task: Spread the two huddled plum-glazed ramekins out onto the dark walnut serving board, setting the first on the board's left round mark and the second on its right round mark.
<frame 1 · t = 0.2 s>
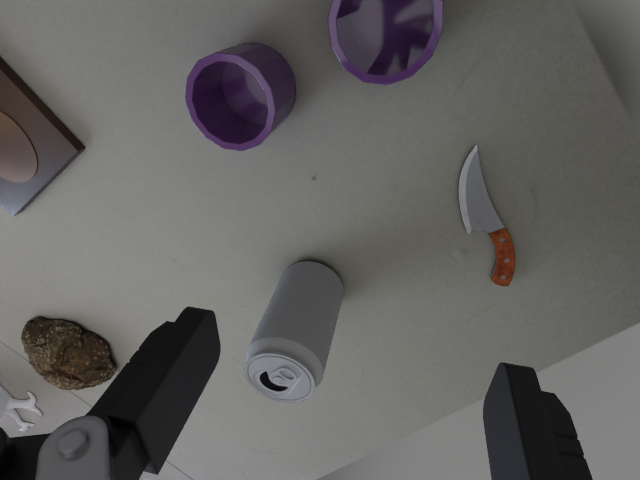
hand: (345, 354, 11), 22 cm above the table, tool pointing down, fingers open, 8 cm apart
ramekin 1: (257, 87, 30), on the table
bread roll: (78, 347, 56), on the table
ramekin 2: (390, 17, 26), on the table
beverage can: (314, 281, 40), on the table
knife: (483, 220, 32), on the table
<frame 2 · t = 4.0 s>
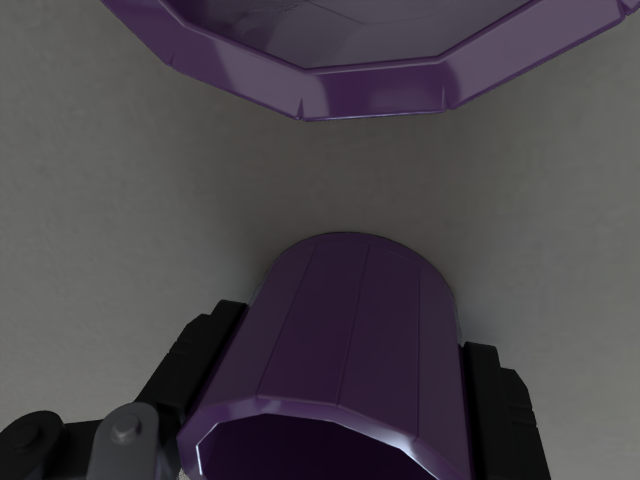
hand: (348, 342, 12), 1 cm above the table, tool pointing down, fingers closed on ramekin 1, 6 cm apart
ramekin 1: (354, 314, 12), on the table, touching gripper
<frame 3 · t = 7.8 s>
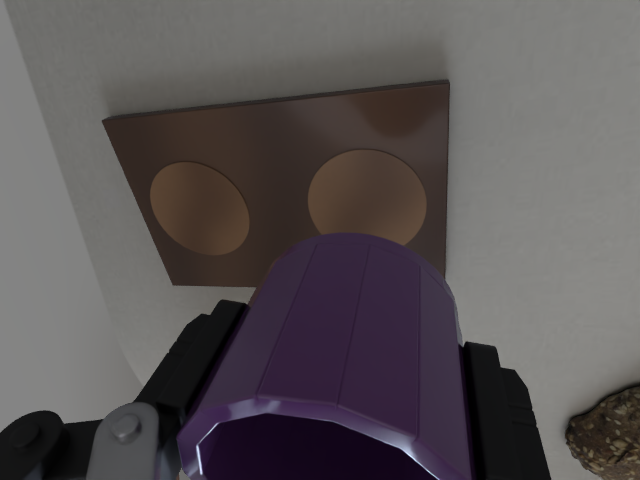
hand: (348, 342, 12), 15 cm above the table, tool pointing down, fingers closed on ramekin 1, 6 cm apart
ramekin 1: (354, 314, 12), point 14 cm above the table, touching gripper
serving board: (282, 201, 28), on the table
when the fingers open (2 cm above the table, at t = 11.5 s): ramekin 1 stays where it is, resting on serving board.
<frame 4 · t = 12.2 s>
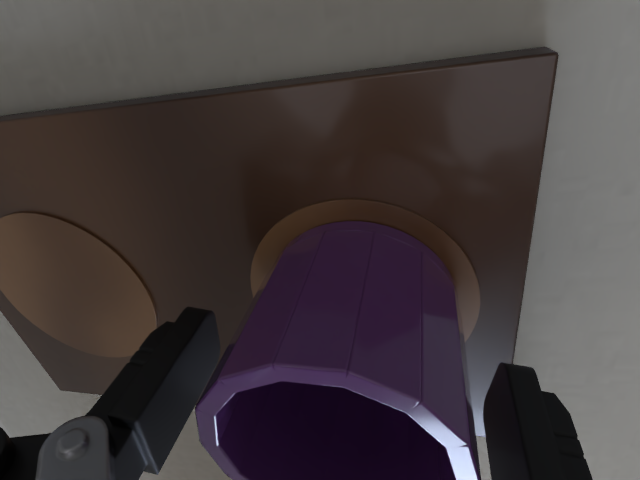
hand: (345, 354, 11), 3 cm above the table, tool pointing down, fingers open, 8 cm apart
ramekin 1: (359, 300, 13), point 1 cm above the table, touching serving board
serving board: (212, 279, 16), on the table
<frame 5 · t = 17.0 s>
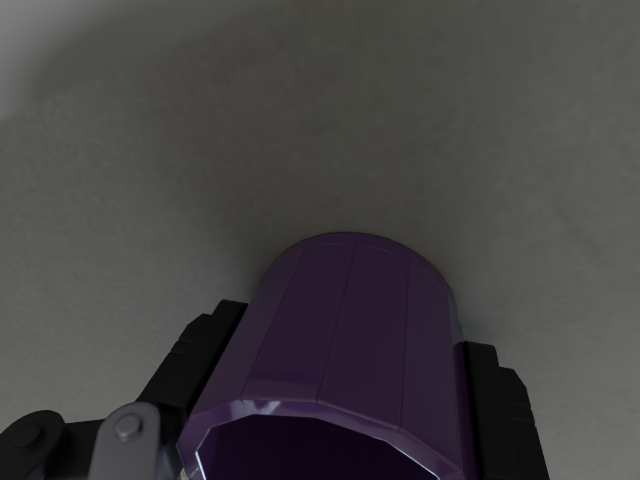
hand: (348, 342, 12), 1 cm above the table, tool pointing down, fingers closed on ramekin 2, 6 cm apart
ramekin 2: (354, 314, 12), on the table, touching gripper
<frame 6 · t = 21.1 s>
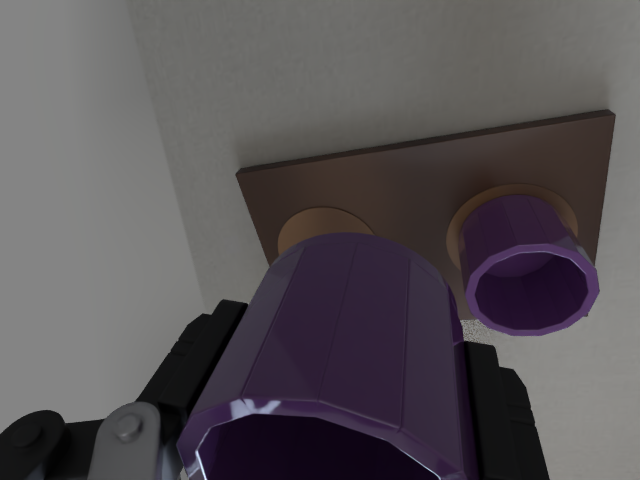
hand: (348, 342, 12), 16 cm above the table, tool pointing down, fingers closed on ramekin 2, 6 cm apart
ramekin 1: (509, 238, 25), point 1 cm above the table, touching serving board
ramekin 2: (355, 314, 12), point 15 cm above the table, touching gripper
serving board: (412, 238, 28), on the table
when the fingers open (2 cm above the table, at t = 25.5 s): ramekin 2 stays where it is, resting on serving board.
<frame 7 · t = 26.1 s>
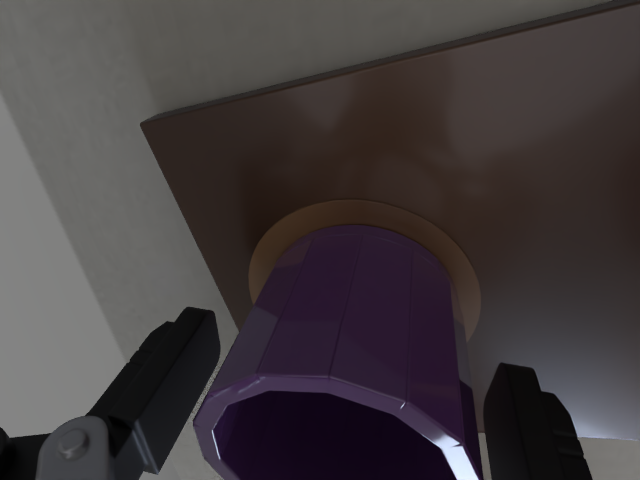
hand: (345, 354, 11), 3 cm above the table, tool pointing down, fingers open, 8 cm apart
ramekin 2: (359, 304, 13), point 1 cm above the table, touching serving board
serving board: (554, 269, 12), on the table
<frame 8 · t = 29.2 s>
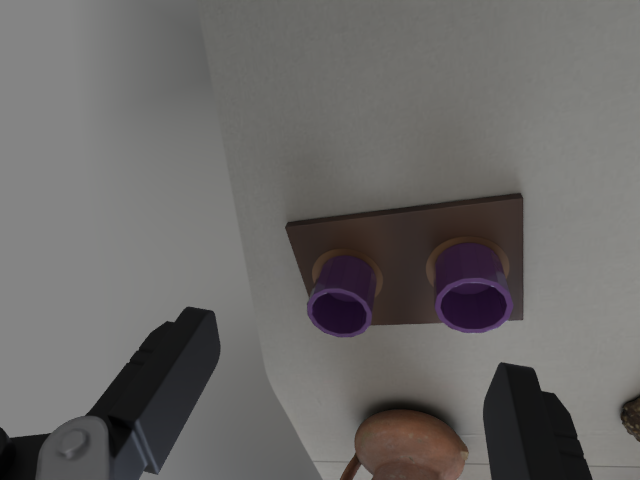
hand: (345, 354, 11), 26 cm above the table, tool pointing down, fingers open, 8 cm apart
ceramic jug: (405, 428, 56), on the table
ramekin 1: (467, 269, 38), point 1 cm above the table, touching serving board
ramekin 2: (347, 279, 42), point 1 cm above the table, touching serving board
serving board: (404, 267, 41), on the table
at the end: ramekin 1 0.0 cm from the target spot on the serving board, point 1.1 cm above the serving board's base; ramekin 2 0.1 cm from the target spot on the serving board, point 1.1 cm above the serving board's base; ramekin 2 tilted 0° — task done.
